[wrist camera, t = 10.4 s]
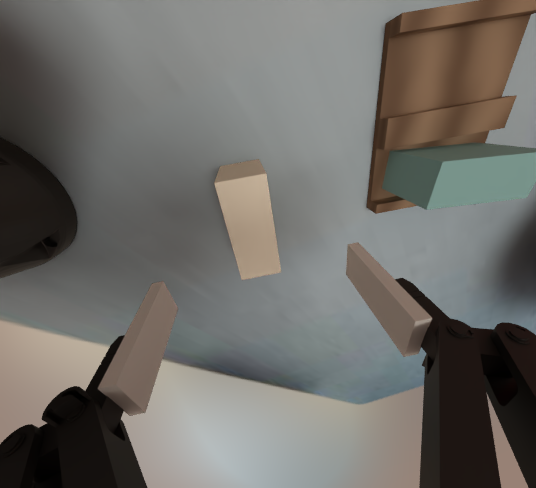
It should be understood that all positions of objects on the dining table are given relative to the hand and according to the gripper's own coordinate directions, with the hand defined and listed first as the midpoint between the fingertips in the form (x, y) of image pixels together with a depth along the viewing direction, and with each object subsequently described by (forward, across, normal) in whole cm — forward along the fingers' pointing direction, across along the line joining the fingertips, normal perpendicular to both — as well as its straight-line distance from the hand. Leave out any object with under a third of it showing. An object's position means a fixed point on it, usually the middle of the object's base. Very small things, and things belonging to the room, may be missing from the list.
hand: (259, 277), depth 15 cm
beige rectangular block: (+14, 0, 0) cm, 14 cm away
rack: (+14, +23, +6) cm, 28 cm away
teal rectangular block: (+13, +23, +1) cm, 27 cm away
